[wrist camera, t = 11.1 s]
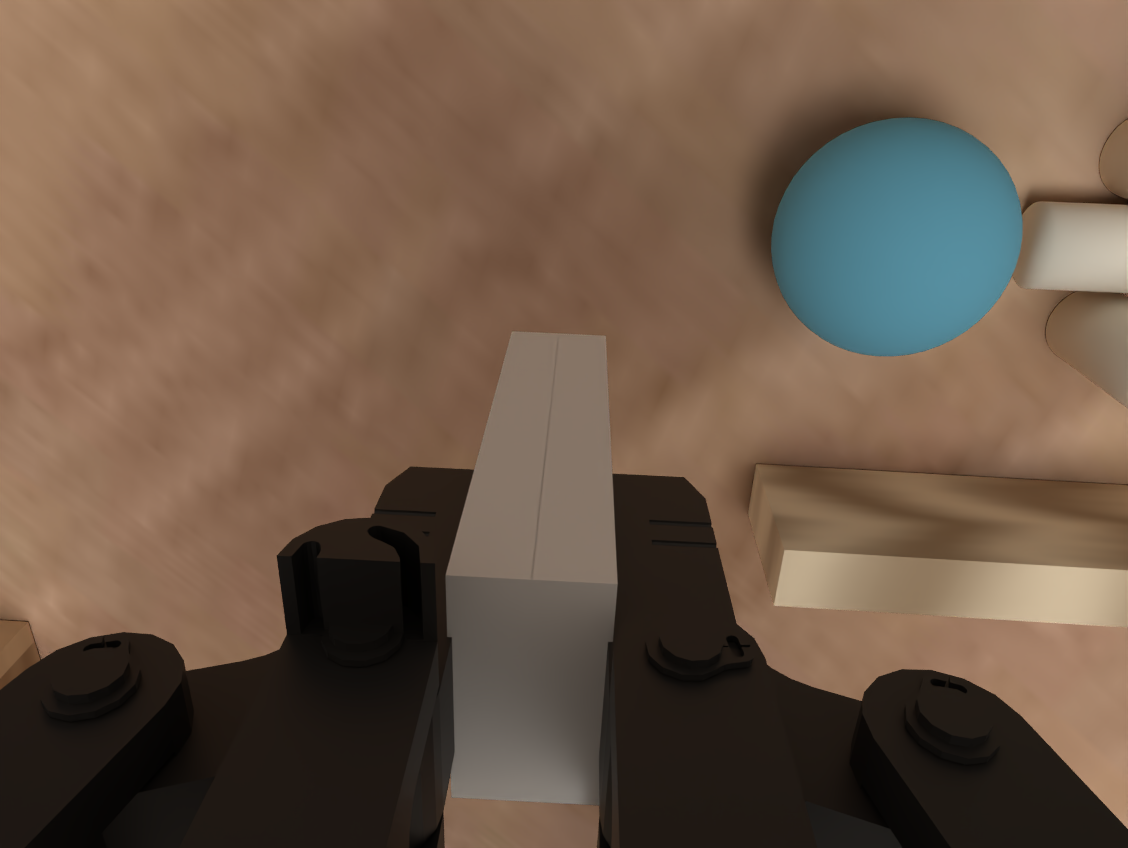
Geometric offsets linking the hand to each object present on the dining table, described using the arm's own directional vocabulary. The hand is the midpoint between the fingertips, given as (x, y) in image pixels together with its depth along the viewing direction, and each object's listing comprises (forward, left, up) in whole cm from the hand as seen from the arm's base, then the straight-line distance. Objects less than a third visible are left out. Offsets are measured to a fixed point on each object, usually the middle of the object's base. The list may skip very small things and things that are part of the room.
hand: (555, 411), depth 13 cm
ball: (+8, +1, -9) cm, 12 cm away
